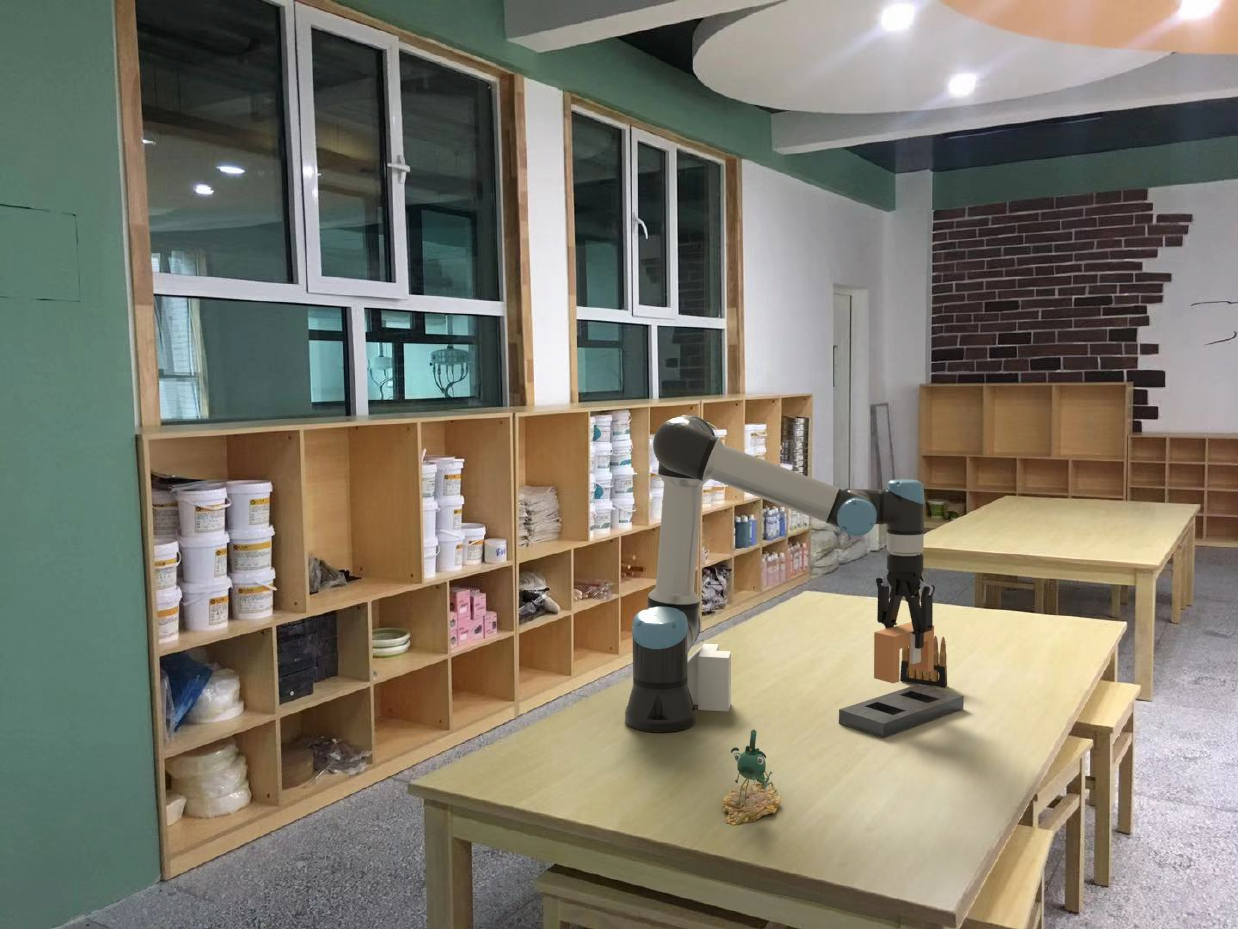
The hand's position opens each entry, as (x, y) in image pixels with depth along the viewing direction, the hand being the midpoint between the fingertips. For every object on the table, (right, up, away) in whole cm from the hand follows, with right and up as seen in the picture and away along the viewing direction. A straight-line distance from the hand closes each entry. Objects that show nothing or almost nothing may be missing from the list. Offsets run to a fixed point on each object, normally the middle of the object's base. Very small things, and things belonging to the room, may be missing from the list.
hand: (904, 659), depth 224 cm
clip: (0, -3, 0) cm, 3 cm away
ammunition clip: (+11, -10, +24) cm, 28 cm away
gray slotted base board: (0, -12, +1) cm, 12 cm away
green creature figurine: (-38, -17, -44) cm, 60 cm away
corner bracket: (-42, -12, +12) cm, 45 cm away
